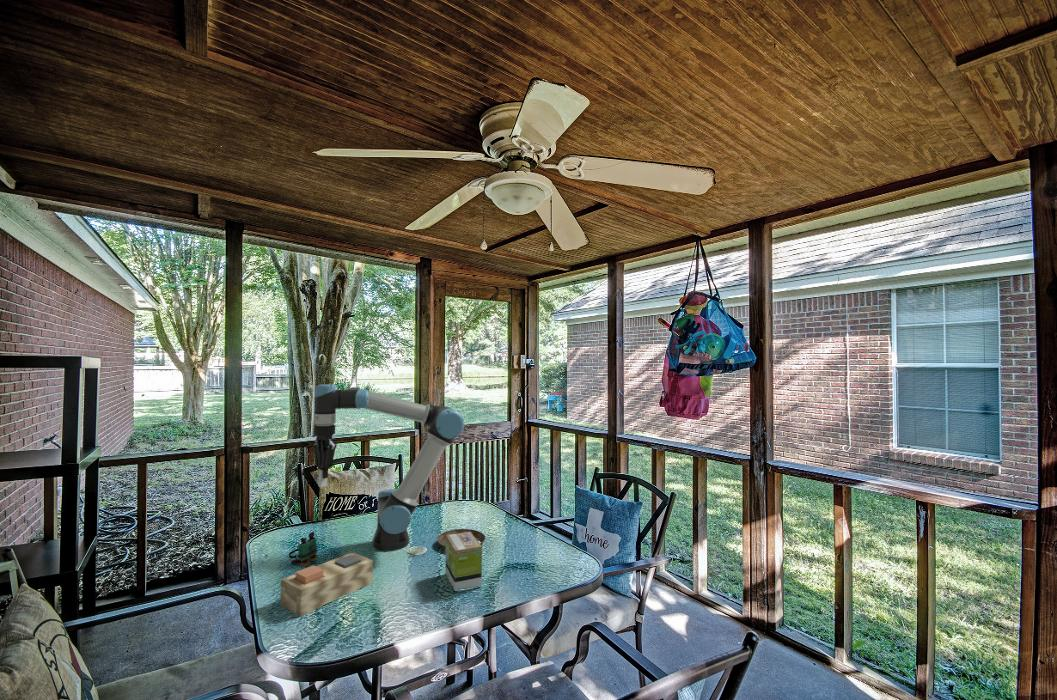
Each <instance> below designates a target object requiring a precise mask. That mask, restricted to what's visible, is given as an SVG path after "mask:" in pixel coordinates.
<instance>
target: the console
mask: <svg viewBox="0 0 1057 700" xmlns="http://www.w3.org/2000/svg"><path fill="white" fill-rule="evenodd" d="M349 555H351V556H353V557H356V558H358V559H361V561H360V563H357V564H355V565H352V566H350V567H347V568H343V567H340V566H338V565H336V564H335V561H336V560H339V559H342V558H344V557H347V556H349ZM314 566H315V565H314ZM315 567H318V568H320V569H322V570H323V578H320V579H318V580H315V581H313V582H311V583H308V584H306V585H304V584H302V583H300V582H299V581H297V580H295V573H294V574H292V575H288V576H286V577H284V578H281V579H280V603H279V605H280V606H281V607H283V608H285V609H287V610H288V611H291V612H292V613H293V614H295V615H296V616H299V617H300V618H301V617H303V616H306V615H307V614H310V613H312V612H314V611H317V610H318V608H319V609H321V608H323V607H324V606H323V605H325V604H327V603H329V602H331V601H333V600H335V599H337V598H339V597H341V596H343V595H346V594H348V593H351V592H353V593H355V592H357V591H359V590H358V589H360V588H362V589H364V588H366V587H368V586H370V585H372V584H373V575H374V560H373V559H370V558H368V557H366V556H362V555H360V554H358V553H356V552H353V551H352V552H349V553H348V554H347V553H346V554H344V555H341V556H340V557H339V556H338V557H336V558H333V559H331V560H329V561H326V562H324V563H321V564H317V565H316V566H315ZM365 586H366V587H365ZM363 587H364V588H363ZM356 590H357V591H356ZM360 590H361V589H360ZM354 591H355V592H354ZM351 594H352V593H351ZM329 604H330V603H329ZM327 605H328V604H327ZM322 606H323V607H322ZM325 606H326V605H325ZM320 607H321V608H320ZM316 609H317V610H316Z"/></svg>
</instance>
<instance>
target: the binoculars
mask: <svg viewBox="0 0 1057 700" xmlns="http://www.w3.org/2000/svg"><path fill="white" fill-rule="evenodd" d="M300 541H301V543H299V544H298V547H297V548H295V549H293V550H292V551H290V552H289V553H288V557H289V559H293V560H291V564H290V565H297V564H299V565H300V566H302V567H308V566H309V565H310V562H316V561H317V560H318V559H317V556H316V554H317V553H318V547H317V539H316V537H315V532H310V533H309V534H308V538H307V537H300ZM297 552H298V553H297ZM294 553H295V554H294Z"/></svg>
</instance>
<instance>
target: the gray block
mask: <svg viewBox="0 0 1057 700" xmlns="http://www.w3.org/2000/svg"><path fill="white" fill-rule="evenodd" d="M360 561H361V559H358V558H356V557H353V556H351V555H349V556H347V557H344V558H342V559H339V560H336V561H335V564H336V565H338V566H340V567H343V568H347V567H350V566H352V565H355V564H357V563H360Z"/></svg>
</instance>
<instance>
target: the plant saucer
mask: <svg viewBox="0 0 1057 700" xmlns="http://www.w3.org/2000/svg"><path fill="white" fill-rule="evenodd" d="M464 532H471V533H472V534H473V536H474V537H475V538H476V540H477V541H480V542H481V543H480V545H481V546H482V545H483V544H484V542H485V541H486V535H485V534H484V533H483V532H481V531H479V530H475V529H472V528H471V529H470V528H458V529H457V528H456V529H451V530H450V529H449V530H447V531H444V532H442V533H440V534H439V535H438V536H437V538H436V539H437V542H438V544H439V545H440V546H441V548H443V549H444V550H446V535H452V534H458V533H464Z"/></svg>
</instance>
